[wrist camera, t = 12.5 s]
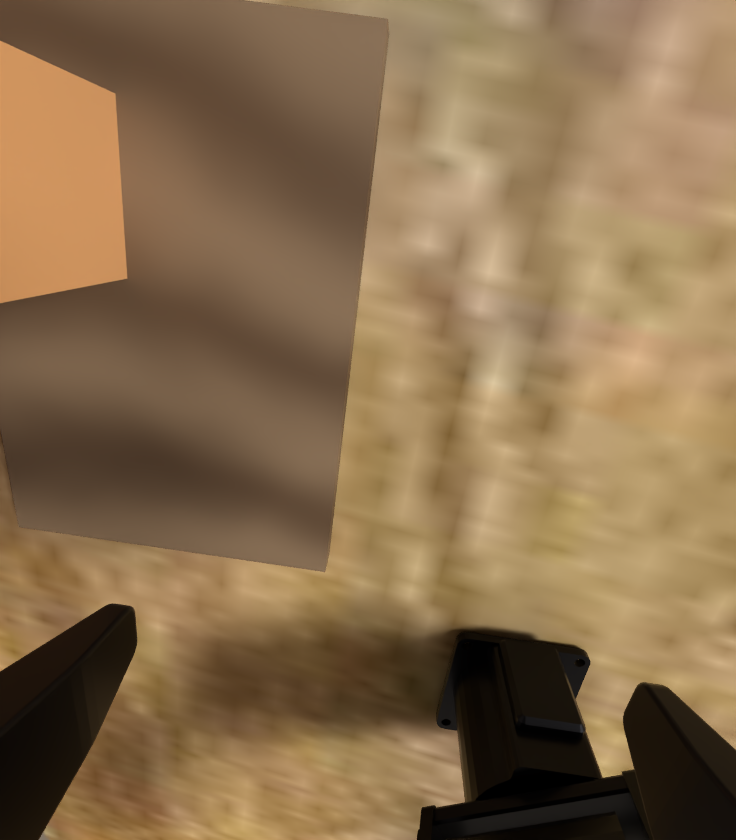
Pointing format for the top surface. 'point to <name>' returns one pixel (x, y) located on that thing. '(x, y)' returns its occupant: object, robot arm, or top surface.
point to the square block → (57, 180)
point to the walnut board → (203, 281)
